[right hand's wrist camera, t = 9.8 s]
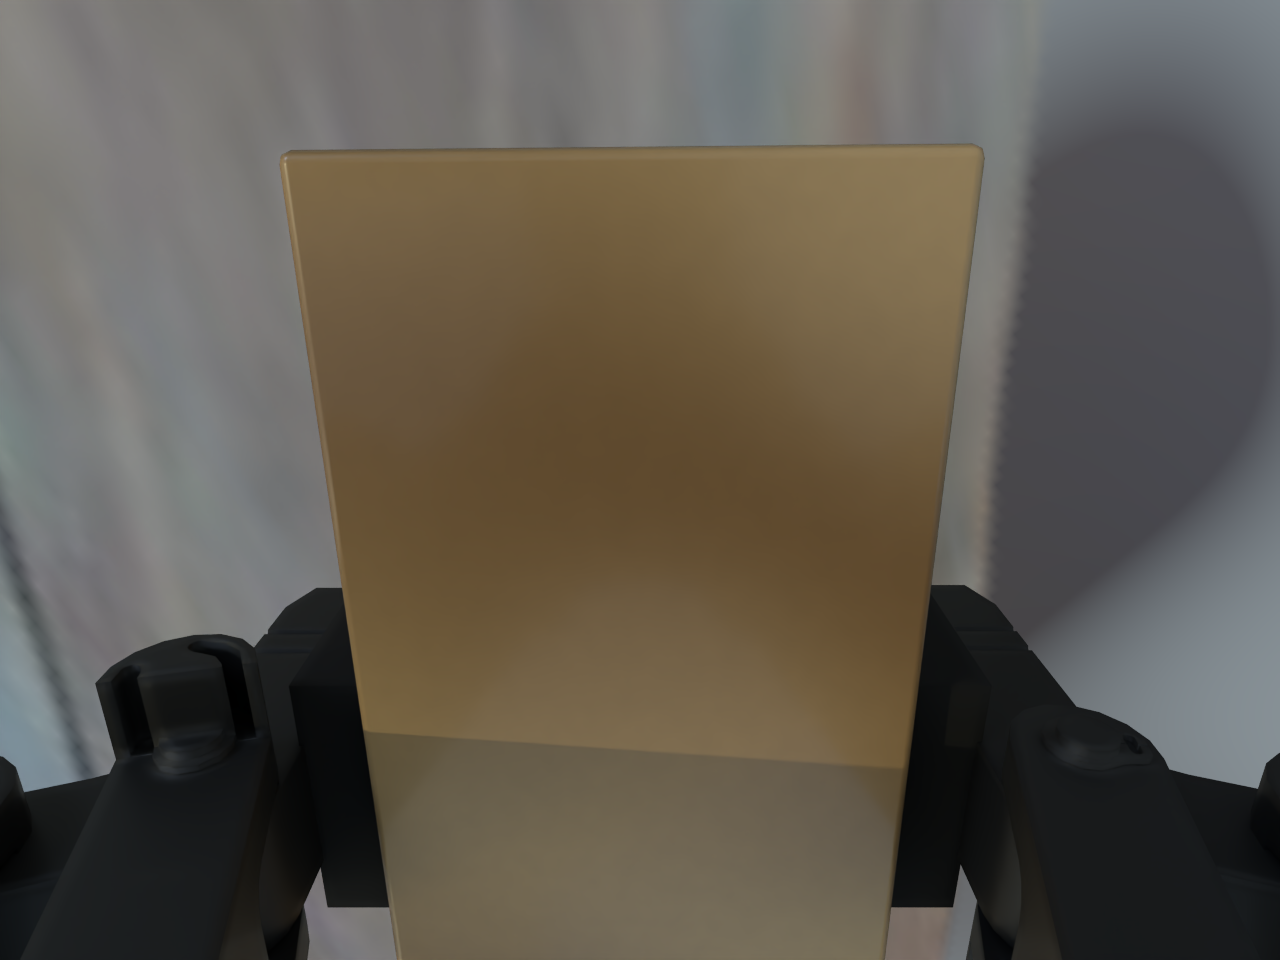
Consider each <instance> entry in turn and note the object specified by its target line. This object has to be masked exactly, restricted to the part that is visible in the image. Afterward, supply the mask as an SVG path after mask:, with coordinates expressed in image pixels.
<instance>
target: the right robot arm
mask: <svg viewBox="0 0 1280 960" xmlns="http://www.w3.org/2000/svg"><path fill="white" fill-rule="evenodd" d="M95 684H96V688H97V692H98V695H99V699H100V703H101V706H102V710H103V714H104V717H105V721H106V724H107V728H108V732H109V735H110V739H111V743H112V746H113V750H114V754H115V757H116V761H115V763H114V765H113V767H112V770H111V772H110V774H107V775H103V776H100V777H96V778H92V779H87V780H82V781H77V782H72V783H68V784H63V785H58V786H53V787H48V788H43V789H38V790H34V791H29V792H24V791H23V788H22V785H21V782H20V779H19V776H18V773H17V770H16V767H15V766H14V765H12V764H11V763H10V762H9V761H7V760H6V759H5V758H4V757H1V756H0V960H307V957H308V949H309V934H308V926H307V920H306V915H305V909H304V903H305V901H306V898H307V896H308V894H309V892H310V890H311V887H312V885H313V883H314V881H315V878H316V876H317V874H318V872H319V870H320V867H321V872H322V878H323V883H324V889H325V895H326V900H327V906H328V907H389V902H388V895H387V888H386V881H385V875H384V868H383V861H382V854H381V848H380V841H379V834H378V827H377V821H376V814H375V807H374V800H373V793H372V787H371V780H370V773H369V766H368V760H367V753H366V746H365V739H364V733H363V726H362V719H361V712H360V706H359V699H358V692H357V685H356V678H355V672H354V665H353V658H352V651H351V645H350V638H349V631H348V624H347V618H346V611H345V604H344V597H343V590H342V588H316V589H314V590H312V591H311V592H309V593H308V594H306V595H304V596H303V597H301V598H300V599H298V600H297V601H295V602H293V603H292V604H290V605H289V606H287V607H286V608H285V609H284V610H283V611H282V613H281V614H280V615H279V617H278V618H277V619H276V620H275V622H274V623H273V624H272V625H271V627H270V628H269V629H268V634H264V636H263V637H262V638H261V639H260V641H259V642H258V643H257V645H256V646H255V647H252V646H251V645H250V644H248V643H247V642H246V641H245V640H243V639H241V638H236V637H232V636H227V635H223V634H213V635H192V636H187V637H182V638H178V639H173V640H168V641H164V642H161V643H158V644H156V645H153V646H150V647H148V648H145V649H142V650H140V651H137V652H135V653H133V654H131V655H130V656H128V657H126V658H125V659H123V660H121V661H120V662H118V663H116V664H115V665H113V666H112V667H110V668H109V669H108V670H107V672H106V673H105V674H104V675H103V676H102V677H101V678H100V679H99V680H98V681H97V682H96V683H95ZM960 864H961V866H962V868H963V870H964V873H965V875H966V877H967V879H968V881H969V884H970V886H971V888H972V890H973V892H974V895H975V897H976V899H977V904H976V909H975V915H974V920H973V925H972V930H971V936H970V941H969V946H968V951H967V957H966V960H1280V753H1279V754H1277V755H1276V756H1275V757H1274V758H1273V759H1271V760H1270V761H1269V762H1267V763H1266V766H1265V769H1264V772H1263V775H1262V778H1261V781H1260V785H1259V787H1258V789H1256V788H1251V787H1246V786H1241V785H1236V784H1232V783H1227V782H1222V781H1217V780H1212V779H1207V778H1202V777H1197V776H1192V775H1188V774H1184V773H1180V772H1177V771H1173V770H1169V768H1168V766H1167V764H1166V762H1165V760H1164V758H1163V757H1162V756H1161V754H1160V753H1159V752H1158V750H1157V749H1156V748H1155V747H1154V745H1153V744H1152V743H1151V742H1150V740H1148V739H1147V738H1145V737H1144V736H1142V735H1141V734H1140V733H1138V732H1137V731H1135V730H1134V729H1133V728H1131V727H1130V726H1128V725H1127V724H1125V723H1122V722H1120V721H1118V720H1116V719H1113V718H1111V717H1109V716H1106V715H1104V714H1102V713H1100V712H1096V711H1092V710H1087V709H1083V708H1079V707H1076V706H1075V704H1074V703H1073V702H1072V701H1071V699H1070V698H1069V697H1068V695H1067V694H1066V693H1065V692H1064V690H1063V689H1062V688H1061V687H1060V685H1059V684H1058V683H1057V682H1056V680H1055V679H1054V678H1053V677H1052V675H1051V674H1050V673H1049V671H1048V670H1047V669H1046V668H1045V666H1044V665H1043V664H1042V663H1041V661H1040V660H1039V659H1038V658H1037V656H1036V655H1035V654H1034V653H1033V651H1031V650H1028V645H1027V644H1026V642H1025V641H1024V640H1023V639H1022V637H1021V636H1020V635H1019V634H1018V632H1017V631H1013V626H1012V625H1011V624H1010V622H1009V621H1008V620H1007V618H1006V617H1005V616H1004V615H1003V613H1002V612H1001V611H1000V610H999V608H998V607H997V606H996V605H995V604H994V603H992V602H991V601H989V600H987V599H986V598H984V597H983V596H981V595H980V594H978V593H976V592H975V591H973V590H972V589H970V588H968V587H967V586H965V585H931V592H930V600H929V608H928V616H927V624H926V632H925V640H924V648H923V656H922V664H921V672H920V680H919V688H918V696H917V704H916V712H915V720H914V728H913V736H912V744H911V752H910V760H909V768H908V776H907V784H906V792H905V800H904V808H903V816H902V824H901V832H900V840H899V848H898V856H897V864H896V872H895V880H894V888H893V896H892V904H891V907H953V904H954V898H955V893H956V887H957V881H958V876H959V870H960Z"/></svg>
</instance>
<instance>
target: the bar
mask: <svg viewBox="0 0 1280 960" xmlns="http://www.w3.org/2000/svg"><path fill="white" fill-rule="evenodd" d="M984 159H985V158H984V153H983V149H982V148H981V147H979V146H977V145H974V144H886V145H781V146H676V147H572V148H467V149H362V150H291V151H288V152H286V153H284V154H282V156H281V159H280V171H281V178H282V184H283V191H284V198H285V205H286V212H287V218H288V225H289V232H290V239H291V245H292V252H293V259H294V266H295V272H296V279H297V286H298V293H299V300H300V306H301V313H302V320H303V327H304V333H305V340H306V347H307V354H308V360H309V367H310V374H311V381H312V387H313V394H314V401H315V408H316V415H317V421H318V428H319V435H320V442H321V448H322V455H323V462H324V469H325V475H326V482H327V489H328V496H329V503H330V509H331V516H332V523H333V530H334V536H335V543H336V550H337V557H338V563H339V570H340V577H341V584H342V590H343V597H344V604H345V611H346V618H347V624H348V631H349V638H350V645H351V651H352V658H353V665H354V672H355V678H356V685H357V692H358V699H359V706H360V712H361V719H362V726H363V733H364V739H365V746H366V753H367V760H368V766H369V773H370V780H371V787H372V793H373V800H374V807H375V814H376V821H377V827H378V834H379V841H380V848H381V854H382V861H383V868H384V875H385V881H386V888H387V895H388V902H389V908H390V915H391V922H392V929H393V936H394V942H395V949H396V956H397V960H885V952H886V944H887V936H888V928H889V920H890V912H891V904H892V896H893V888H894V880H895V872H896V864H897V856H898V848H899V840H900V832H901V824H902V816H903V808H904V800H905V792H906V784H907V776H908V768H909V760H910V752H911V744H912V736H913V728H914V720H915V712H916V704H917V696H918V688H919V680H920V672H921V664H922V656H923V648H924V640H925V632H926V624H927V616H928V608H929V600H930V592H931V584H932V576H933V567H934V559H935V551H936V543H937V535H938V527H939V519H940V511H941V503H942V495H943V487H944V479H945V471H946V463H947V455H948V447H949V439H950V431H951V423H952V415H953V407H954V399H955V391H956V383H957V375H958V367H959V359H960V351H961V343H962V335H963V327H964V319H965V311H966V303H967V295H968V287H969V279H970V271H971V263H972V255H973V247H974V239H975V231H976V223H977V215H978V207H979V199H980V191H981V183H982V175H983V167H984Z"/></svg>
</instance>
